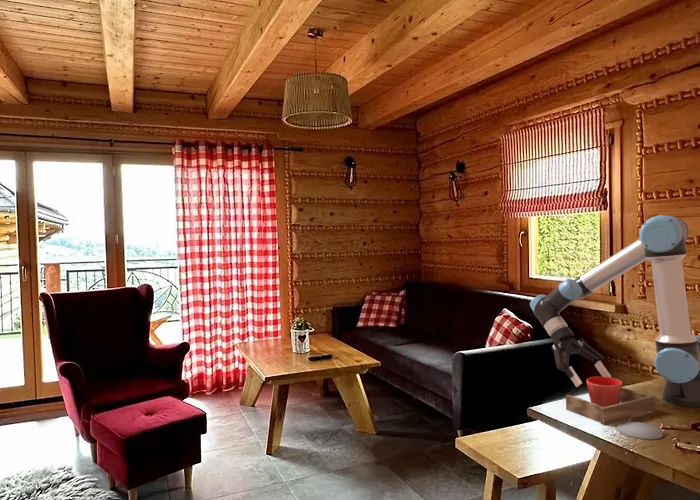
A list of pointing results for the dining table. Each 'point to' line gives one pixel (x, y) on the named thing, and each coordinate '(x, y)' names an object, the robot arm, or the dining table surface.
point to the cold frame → (614, 407)
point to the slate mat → (640, 430)
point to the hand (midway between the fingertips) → (594, 381)
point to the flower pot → (604, 390)
